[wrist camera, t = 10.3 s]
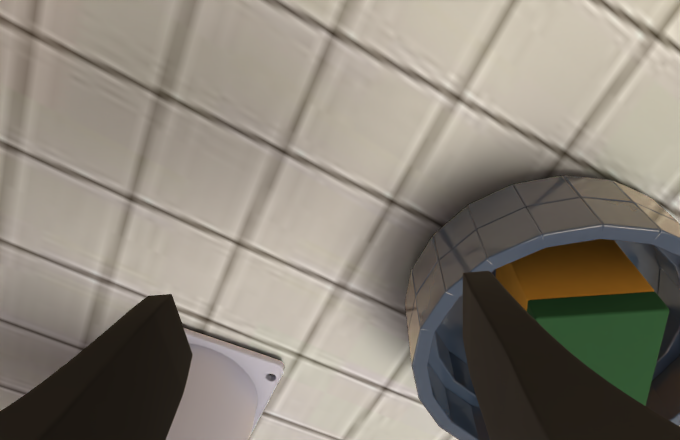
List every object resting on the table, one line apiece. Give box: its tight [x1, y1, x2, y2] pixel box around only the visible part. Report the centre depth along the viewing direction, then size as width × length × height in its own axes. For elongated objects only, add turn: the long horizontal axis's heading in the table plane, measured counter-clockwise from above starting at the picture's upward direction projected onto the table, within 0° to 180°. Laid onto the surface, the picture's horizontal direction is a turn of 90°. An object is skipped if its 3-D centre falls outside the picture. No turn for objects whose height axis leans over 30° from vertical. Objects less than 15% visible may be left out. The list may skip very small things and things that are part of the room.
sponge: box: [496, 239, 669, 406], centre depth 21 cm, size 8×4×6 cm, turn 7°
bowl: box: [405, 175, 680, 440], centre depth 22 cm, size 12×12×4 cm
